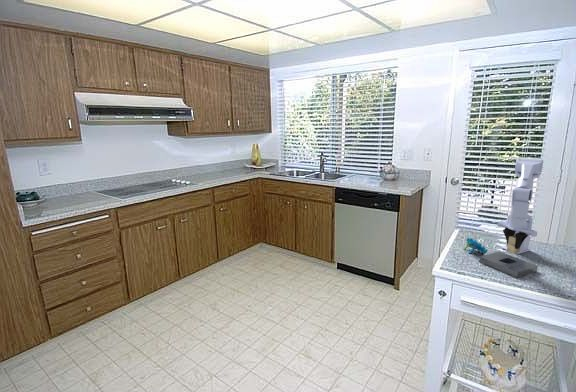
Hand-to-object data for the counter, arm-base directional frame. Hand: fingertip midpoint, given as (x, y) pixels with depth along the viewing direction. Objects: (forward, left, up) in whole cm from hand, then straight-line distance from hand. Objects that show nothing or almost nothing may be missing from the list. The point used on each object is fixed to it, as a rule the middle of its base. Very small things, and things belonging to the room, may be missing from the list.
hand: (513, 247), depth 132 cm
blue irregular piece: (0, -16, -9) cm, 19 cm away
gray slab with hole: (+1, -1, -9) cm, 9 cm away
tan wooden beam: (0, 0, -2) cm, 2 cm away
